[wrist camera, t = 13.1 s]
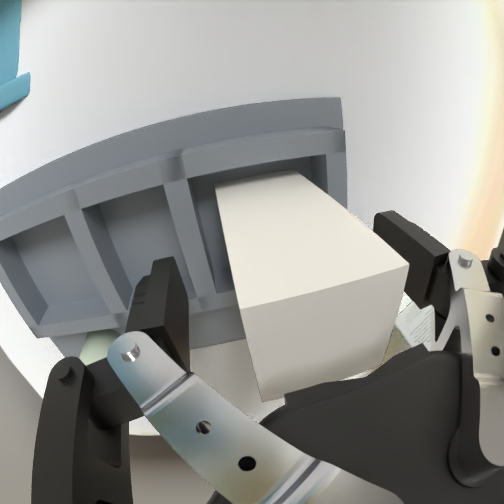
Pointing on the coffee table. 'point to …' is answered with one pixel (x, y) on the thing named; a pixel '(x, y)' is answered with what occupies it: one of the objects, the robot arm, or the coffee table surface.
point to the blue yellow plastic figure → (11, 55)
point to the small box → (415, 325)
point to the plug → (307, 282)
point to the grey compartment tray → (152, 218)
